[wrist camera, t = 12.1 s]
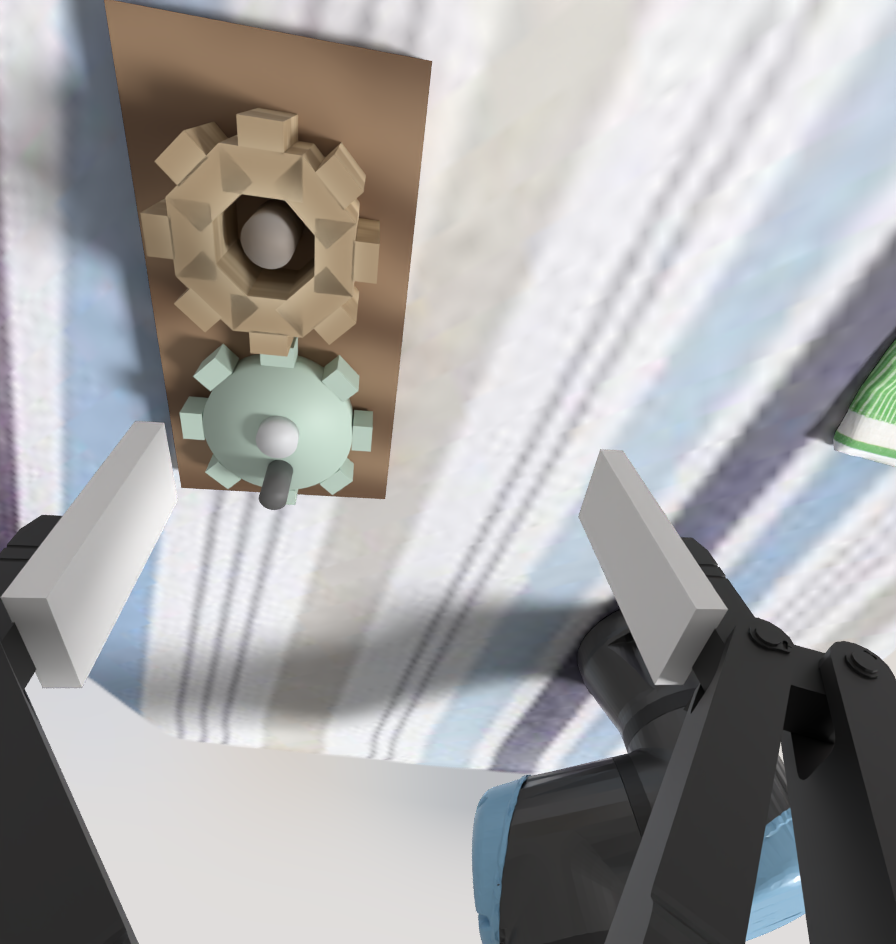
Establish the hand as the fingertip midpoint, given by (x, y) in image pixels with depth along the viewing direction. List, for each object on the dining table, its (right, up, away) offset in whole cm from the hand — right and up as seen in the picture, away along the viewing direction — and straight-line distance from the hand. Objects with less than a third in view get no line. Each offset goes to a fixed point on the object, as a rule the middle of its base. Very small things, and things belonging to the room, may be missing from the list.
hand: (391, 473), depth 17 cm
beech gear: (-7, +13, +12) cm, 19 cm away
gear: (-9, +4, +18) cm, 21 cm away
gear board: (-8, +10, +16) cm, 21 cm away
